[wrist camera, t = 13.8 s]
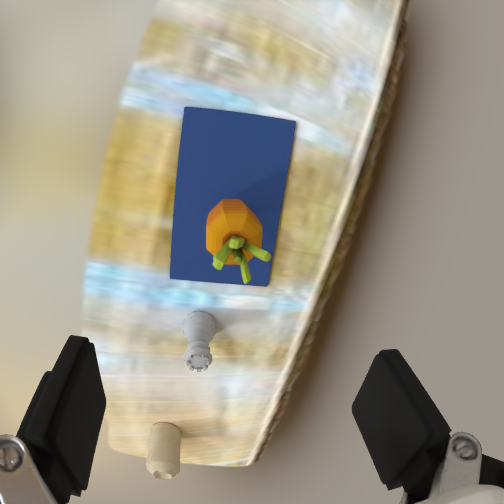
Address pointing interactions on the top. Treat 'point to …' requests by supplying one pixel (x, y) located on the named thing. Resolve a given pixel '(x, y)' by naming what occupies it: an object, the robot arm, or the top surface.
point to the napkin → (227, 186)
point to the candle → (164, 450)
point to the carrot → (234, 236)
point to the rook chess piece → (198, 339)
